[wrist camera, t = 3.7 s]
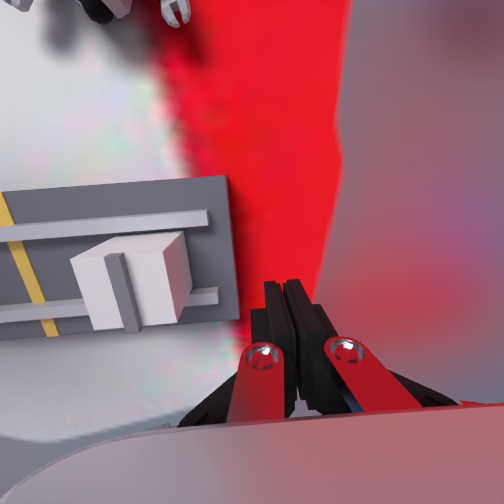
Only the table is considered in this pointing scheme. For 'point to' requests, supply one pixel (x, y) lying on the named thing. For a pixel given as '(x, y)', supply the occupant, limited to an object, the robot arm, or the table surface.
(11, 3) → the robot toy
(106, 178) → the table surface
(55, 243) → the grey slider rail base
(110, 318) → the fader tab
